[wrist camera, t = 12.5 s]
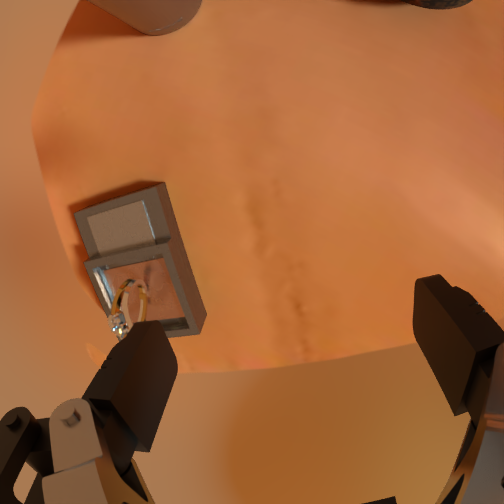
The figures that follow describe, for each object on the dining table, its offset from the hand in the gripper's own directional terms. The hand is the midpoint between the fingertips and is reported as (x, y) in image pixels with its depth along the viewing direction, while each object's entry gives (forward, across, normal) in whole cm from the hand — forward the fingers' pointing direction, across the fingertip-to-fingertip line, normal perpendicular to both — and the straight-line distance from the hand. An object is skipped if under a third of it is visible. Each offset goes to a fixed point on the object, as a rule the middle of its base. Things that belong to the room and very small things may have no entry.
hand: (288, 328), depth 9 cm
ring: (+24, +18, +10) cm, 31 cm away
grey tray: (+27, +19, +6) cm, 33 cm away
